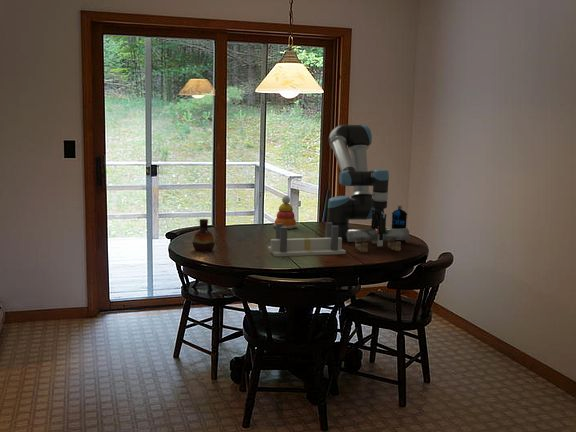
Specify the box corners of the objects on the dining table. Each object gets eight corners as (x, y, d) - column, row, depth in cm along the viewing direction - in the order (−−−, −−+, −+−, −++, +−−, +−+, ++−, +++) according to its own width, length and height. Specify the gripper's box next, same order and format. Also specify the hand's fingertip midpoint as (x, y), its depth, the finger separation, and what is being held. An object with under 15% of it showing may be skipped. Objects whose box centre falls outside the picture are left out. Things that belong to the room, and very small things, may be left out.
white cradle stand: (267, 249, 312) (268, 222, 310) (335, 247, 321) (336, 221, 319) (274, 256, 297) (275, 228, 295) (345, 253, 306) (346, 227, 304)
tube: (350, 242, 311) (350, 231, 310) (346, 240, 317) (346, 228, 316) (408, 240, 319) (409, 229, 318) (403, 238, 325) (404, 227, 324)
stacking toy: (294, 230, 364) (295, 197, 361) (270, 228, 367) (271, 196, 364) (299, 226, 378) (300, 194, 375) (276, 224, 381) (277, 193, 378)
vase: (219, 249, 309) (219, 219, 306) (205, 254, 299) (205, 222, 297) (201, 247, 314) (201, 217, 312) (187, 250, 305) (187, 220, 302)
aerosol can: (393, 240, 343) (395, 204, 339) (407, 241, 338) (409, 205, 335) (388, 242, 336) (389, 206, 332) (402, 244, 331) (404, 207, 328)
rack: (354, 247, 321) (355, 239, 320) (392, 246, 326) (393, 238, 325) (361, 251, 311) (362, 243, 310) (400, 250, 316) (400, 242, 315)
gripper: (366, 197, 322) (363, 240, 327) (380, 203, 304) (377, 249, 309) (379, 197, 324) (377, 240, 328) (394, 203, 306) (391, 248, 310)
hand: (377, 244), depth 319 cm, fingers closed on tube, 6 cm apart
